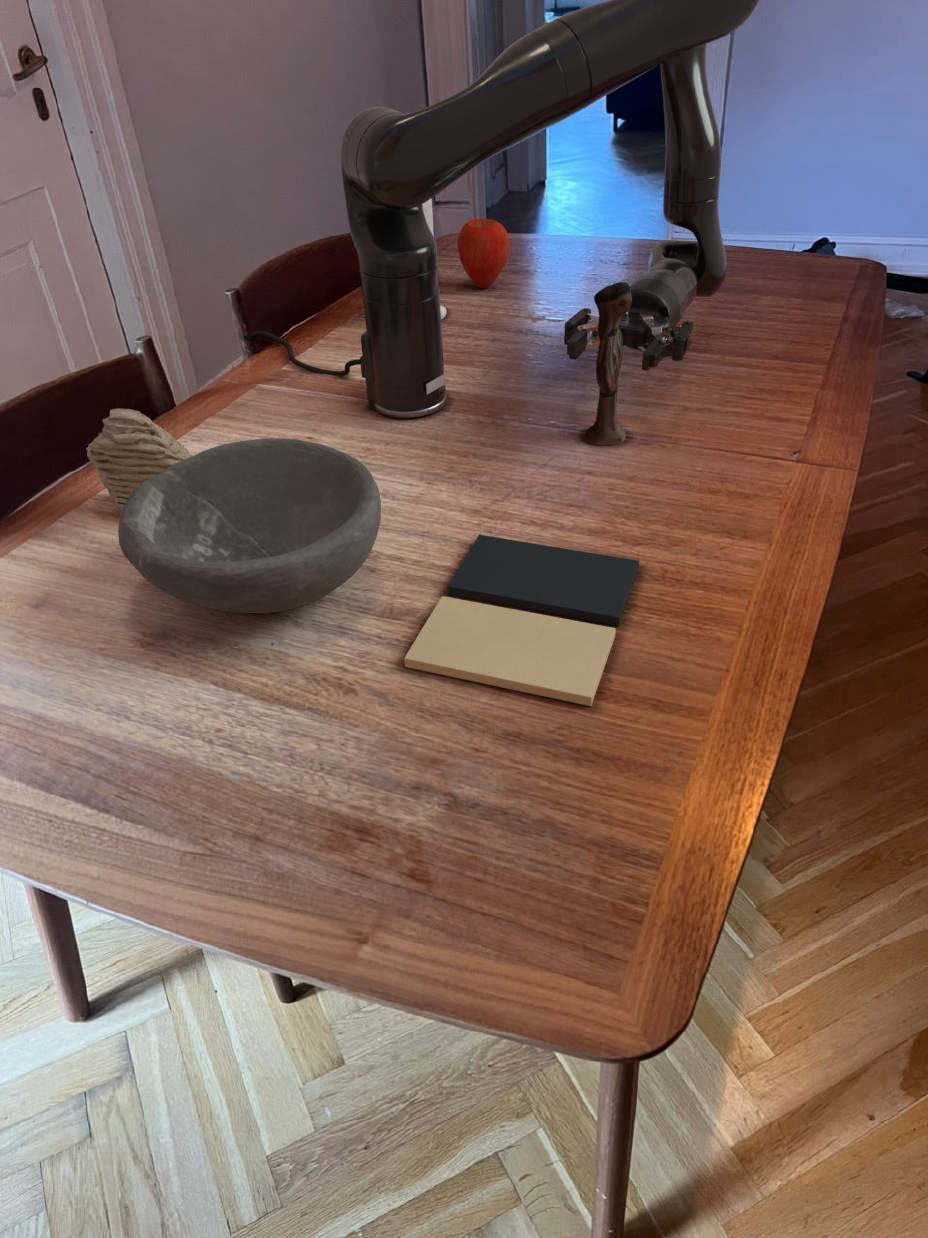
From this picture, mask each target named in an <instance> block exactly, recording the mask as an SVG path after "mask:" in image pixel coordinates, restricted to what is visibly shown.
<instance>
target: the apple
mask: <svg viewBox="0 0 928 1238" xmlns="http://www.w3.org/2000/svg"><path fill="white" fill-rule="evenodd" d="M456 245H457V249H458V250H457V251H458V256H459V260H460V263H461V264H462V267H463V270H464V271H465V273H466V274H467V276H468V277H469V280H471V282H472V283H473V284H474V286H475V287H477V288H478V289H484V290H485V289H488V288H490V287H491V286H492V285H493V284H494V283H495V282H496V280H497V278H498V277H499V276H500V275H501V272H502V271H503V269H504V268H505V266H506V264H507V262H508V260H509V258H510V254H511V241H510V237H509V235H508V232H507V230H506V229H505V227H504V226H503V224H502V223H500V222H498V221H496V220H495V219H489V218H483V217H482V218H473V219H470V220H469V221H466V223H465V224H463V226H462V227H461V229H460V231H459V233H458V238H457V241H456Z"/></svg>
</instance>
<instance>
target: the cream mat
mask: <svg viewBox="0 0 928 1238" xmlns="http://www.w3.org/2000/svg"><path fill="white" fill-rule="evenodd" d="M616 631H617V630H616V628H615V627H610V626H605V625H600V624H595V623H591V622H590V623H589V622H584V621H579V620H575V619H574V620H573V619H567V618H562V617H559V616H553V615H552V616H551V615H548V614H547V615H545V614H541V613H535V612H530V611H525V610H519V609H514V608H509V607H503V606H498V605H492V604H487V603H482V602H476V601H472V600H465V599H460V598H455V597H450V596H445V595H441V597H440V598H439V600H438V601H437V602H436V605H435V606H434V608H433V610H432V611H431V613H430V615H429V617H428V618H427V620H426V621H425V623H424V625H423V626H422V628H421V629H420V631H419V633H418V634H417V636H416V638H415V640H414V641H413V643H412V644H411V646H410V648H409V650H408V651H407V653H406V654H405V656H404V657H403V660H404V667H405V668H409V669H414V670H418V671H422V672H426V673H433V674H437V675H442V676H447V677H451V678H455V679H460V680H465V681H471V682H475V683H480V684H484V685H490V686H494V687H498V688H503V689H508V690H513V691H517V692H520V693H527V694H530V695H536V696H541V697H546V698H550V699H553V700H561V701H564V702H568V703H574V704H578V705H582V706H589V707H592V706H593V704H594V703H593V702H594V700H595V697H596V694H597V691H598V687H599V685H600V683H601V679H602V677H603V674H604V670H605V668H606V665H607V662H608V659H609V656H610V653H611V650H612V647H613V645H614V641H615V639H616Z"/></svg>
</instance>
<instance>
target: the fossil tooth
mask: <svg viewBox="0 0 928 1238" xmlns="http://www.w3.org/2000/svg"><path fill="white" fill-rule="evenodd" d="M102 423H103V428H102V429H101V430H102V431H101V432H99V433H98V436H97V437H95V438H94V439H93V440H92V442H90V443H89V444H88V447H86V448H85V450H86V451H87V452H86V454H87V458H88V460H89V461H90V462H91V463H92V465H93V467H94V468H96V469H97V474H98V478H99V479H100V481H101V483H102V485H103V487H104V488H106V489H107V490H108V495H109V496H110V498H112V499H113V501H114V504H115V505H116V506H117V508H118V509H120V510H121V511H122V509H123V507H124V505H125V504H126V502H127V500H128V498H129V496H130V495H131V493H132V491H133V490H134V489H135V488H136V487H137V486H139V485H140V484H141V483H143V482H144V481H146V480H148V479H149V478H151V477H153V476H155V475H158V474H160V473H162V472H165V471H166V470H167V469H168V468H169V467H171V466H172V465H174V464H176V463H178V462H180V461H182V460H185V459H187V458H190V457H192V456H193V454H191V452H190V451H189V450H188V449H187V448H185V447H184V446H183V445H182V444H181V443H180V441H178V439H176V438H175V437H173V436H172V434H171V433H169V432H168V431H166V430H165V429H164V428H162V427H161V426H160V425H158V424H156V422H153V420H152V419H151V418H150V417H148V416H146V415H145V414H144V413H142V412H140V411H139V410H135V409H131V408H119V407H118V408H113V409H110V410H109V416H107V417H106V418H103V419H102Z"/></svg>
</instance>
